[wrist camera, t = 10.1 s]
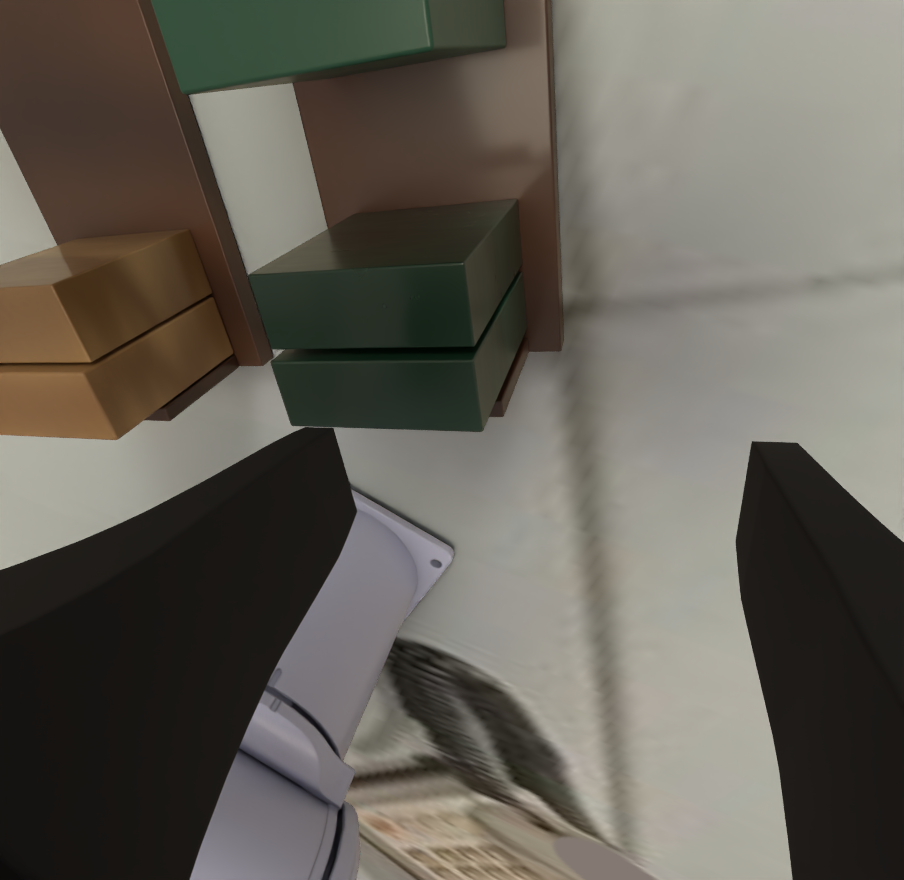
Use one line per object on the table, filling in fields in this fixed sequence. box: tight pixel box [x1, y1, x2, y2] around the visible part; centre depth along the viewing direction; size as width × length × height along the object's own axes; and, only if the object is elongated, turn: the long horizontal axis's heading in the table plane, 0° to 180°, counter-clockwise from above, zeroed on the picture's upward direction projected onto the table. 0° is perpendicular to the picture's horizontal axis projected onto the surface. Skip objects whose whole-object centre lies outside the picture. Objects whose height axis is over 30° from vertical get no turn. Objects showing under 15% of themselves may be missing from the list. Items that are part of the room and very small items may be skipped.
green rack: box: [248, 0, 564, 432], centre depth 13 cm, size 16×7×7 cm, turn 8°
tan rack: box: [0, 0, 273, 440], centre depth 16 cm, size 16×7×7 cm, turn 8°
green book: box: [151, 0, 506, 95], centre depth 12 cm, size 2×5×6 cm, turn 98°
